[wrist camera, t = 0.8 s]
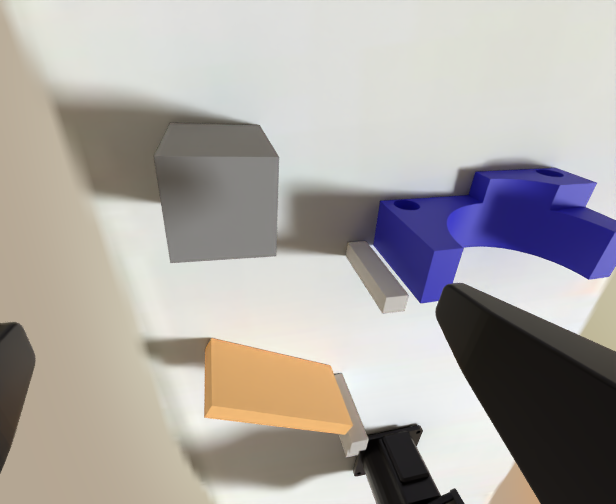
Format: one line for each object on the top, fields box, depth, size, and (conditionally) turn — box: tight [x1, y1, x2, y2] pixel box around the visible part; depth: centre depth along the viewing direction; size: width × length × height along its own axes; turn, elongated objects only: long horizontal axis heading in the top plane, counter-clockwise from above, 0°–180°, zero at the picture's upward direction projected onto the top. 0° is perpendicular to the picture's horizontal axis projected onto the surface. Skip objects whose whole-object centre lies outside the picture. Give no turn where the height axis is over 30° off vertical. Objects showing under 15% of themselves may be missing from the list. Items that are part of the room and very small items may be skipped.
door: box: [204, 338, 353, 435], centre depth 23 cm, size 10×2×5 cm, turn 59°
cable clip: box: [373, 168, 616, 303], centre depth 19 cm, size 12×4×6 cm, turn 88°
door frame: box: [334, 241, 409, 458], centre depth 23 cm, size 15×1×6 cm, turn 176°
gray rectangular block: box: [154, 123, 279, 263], centre depth 15 cm, size 4×4×6 cm
